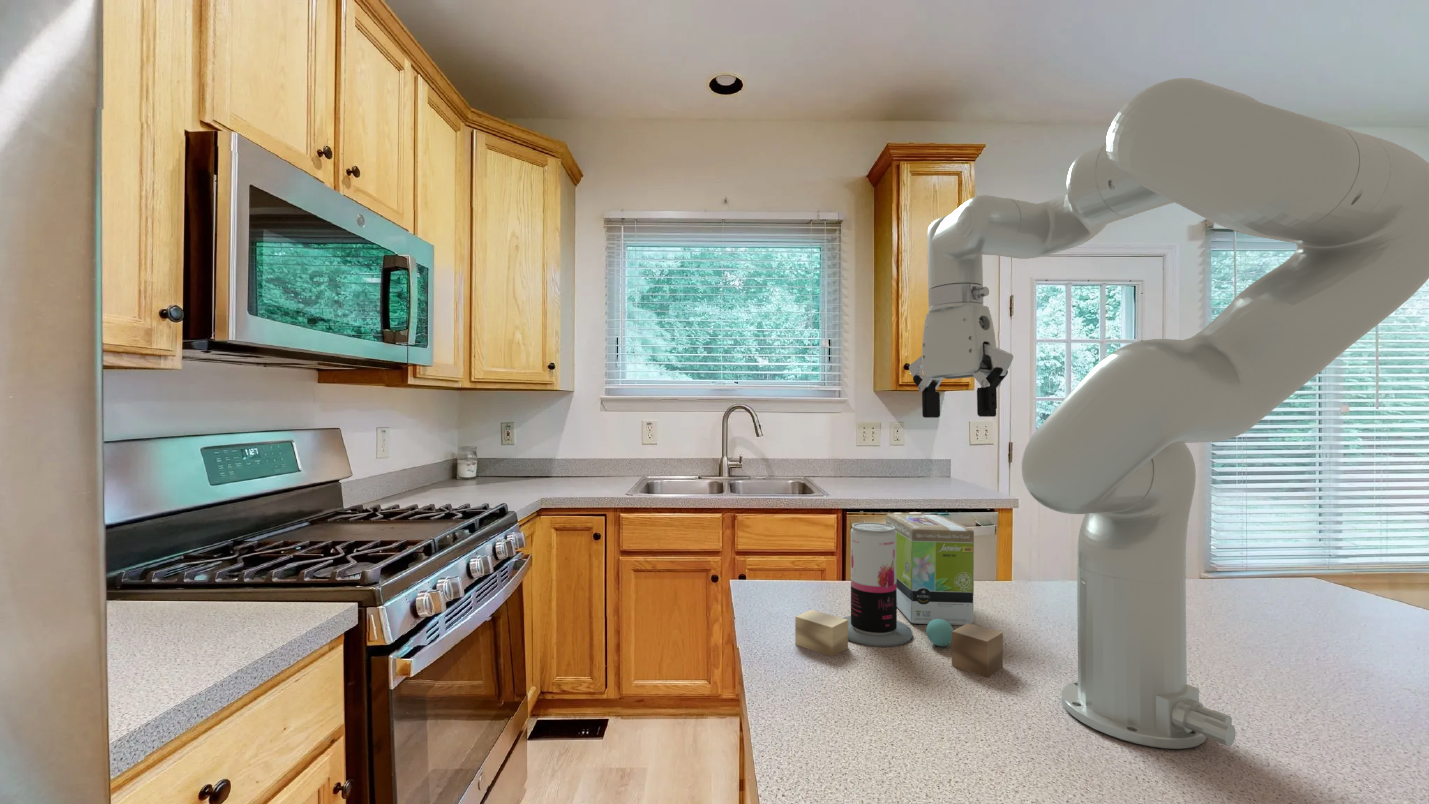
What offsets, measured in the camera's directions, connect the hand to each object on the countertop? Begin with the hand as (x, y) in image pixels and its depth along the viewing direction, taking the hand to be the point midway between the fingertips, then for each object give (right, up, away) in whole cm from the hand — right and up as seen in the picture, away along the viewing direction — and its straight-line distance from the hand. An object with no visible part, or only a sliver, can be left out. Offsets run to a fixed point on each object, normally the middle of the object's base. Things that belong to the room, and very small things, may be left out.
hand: (957, 417), depth 86 cm
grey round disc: (-12, -32, +1) cm, 34 cm away
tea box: (-1, -32, +11) cm, 34 cm away
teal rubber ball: (-4, -30, -4) cm, 31 cm away
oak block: (-21, -32, -5) cm, 38 cm away
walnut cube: (-2, -32, -11) cm, 34 cm away
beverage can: (-12, -31, 0) cm, 34 cm away
